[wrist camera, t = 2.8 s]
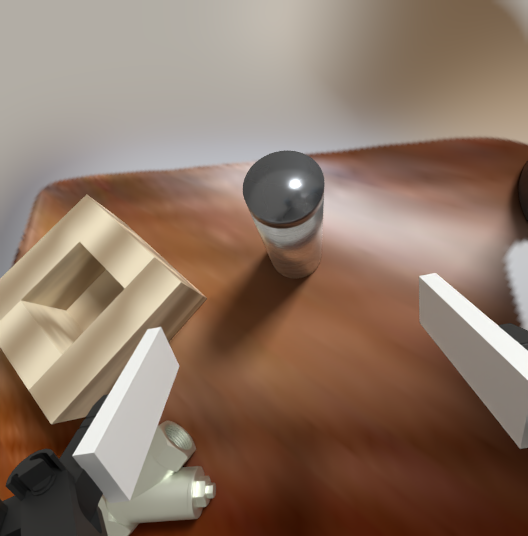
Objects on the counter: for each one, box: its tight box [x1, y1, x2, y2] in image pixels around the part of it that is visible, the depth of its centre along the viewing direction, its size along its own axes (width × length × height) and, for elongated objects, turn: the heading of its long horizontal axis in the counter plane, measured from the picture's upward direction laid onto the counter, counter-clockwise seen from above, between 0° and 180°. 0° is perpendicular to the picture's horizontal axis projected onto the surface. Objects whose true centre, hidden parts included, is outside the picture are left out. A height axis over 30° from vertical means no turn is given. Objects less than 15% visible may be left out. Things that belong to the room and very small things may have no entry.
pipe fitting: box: [98, 421, 216, 536], centre depth 23 cm, size 8×4×7 cm
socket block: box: [0, 195, 207, 424], centre depth 28 cm, size 14×14×6 cm
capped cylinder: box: [243, 151, 324, 279], centre depth 24 cm, size 5×5×12 cm
